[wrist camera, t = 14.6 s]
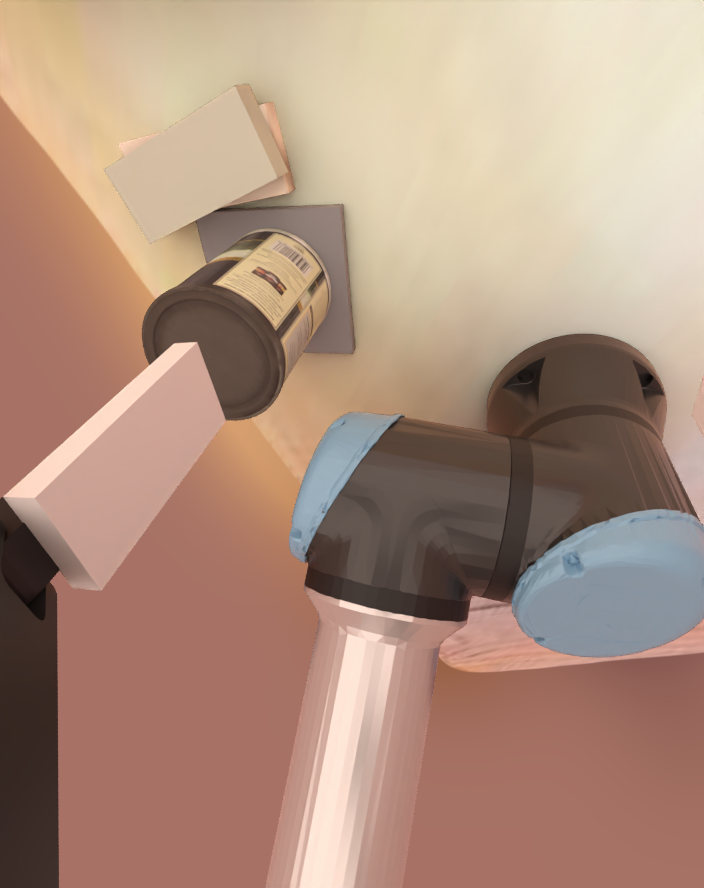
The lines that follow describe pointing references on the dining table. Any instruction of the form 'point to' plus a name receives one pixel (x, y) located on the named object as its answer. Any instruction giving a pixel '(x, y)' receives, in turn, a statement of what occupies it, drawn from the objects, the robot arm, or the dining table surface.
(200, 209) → the upper offcut
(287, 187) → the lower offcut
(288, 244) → the coffee can
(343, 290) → the slate mat
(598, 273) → the dining table surface
